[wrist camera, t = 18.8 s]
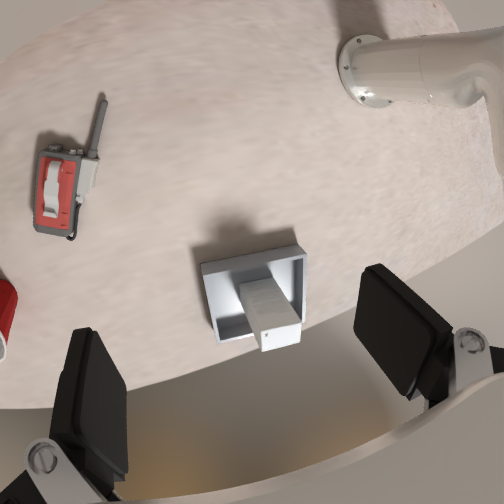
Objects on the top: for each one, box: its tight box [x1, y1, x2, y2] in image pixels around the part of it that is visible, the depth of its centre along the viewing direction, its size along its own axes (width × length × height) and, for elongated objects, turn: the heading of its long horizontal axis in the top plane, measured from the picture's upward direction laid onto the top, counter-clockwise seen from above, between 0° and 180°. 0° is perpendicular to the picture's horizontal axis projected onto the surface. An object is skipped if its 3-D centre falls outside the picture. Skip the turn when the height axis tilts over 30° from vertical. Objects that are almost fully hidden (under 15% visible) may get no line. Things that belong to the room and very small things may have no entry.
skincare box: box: [239, 277, 302, 352], centre depth 45 cm, size 6×4×12 cm
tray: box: [200, 244, 307, 344], centre depth 49 cm, size 16×14×4 cm
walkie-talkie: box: [33, 100, 108, 241], centre depth 32 cm, size 9×4×20 cm
